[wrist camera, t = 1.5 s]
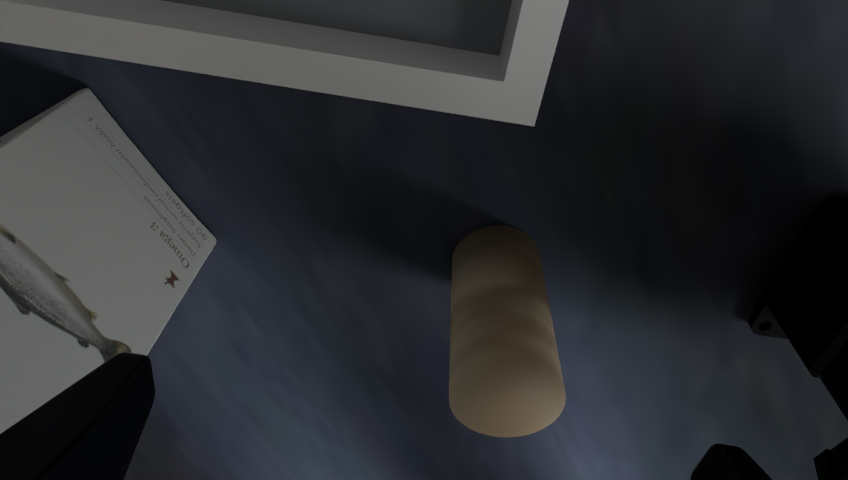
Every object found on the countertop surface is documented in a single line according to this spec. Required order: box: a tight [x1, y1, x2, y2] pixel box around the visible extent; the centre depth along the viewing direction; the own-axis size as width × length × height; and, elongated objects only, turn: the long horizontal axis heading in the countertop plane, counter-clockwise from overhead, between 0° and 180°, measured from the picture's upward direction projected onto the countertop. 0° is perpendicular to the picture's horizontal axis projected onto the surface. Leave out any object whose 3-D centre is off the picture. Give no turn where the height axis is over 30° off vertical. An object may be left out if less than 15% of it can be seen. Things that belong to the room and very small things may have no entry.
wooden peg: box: [449, 225, 566, 437], centre depth 21 cm, size 4×4×7 cm
